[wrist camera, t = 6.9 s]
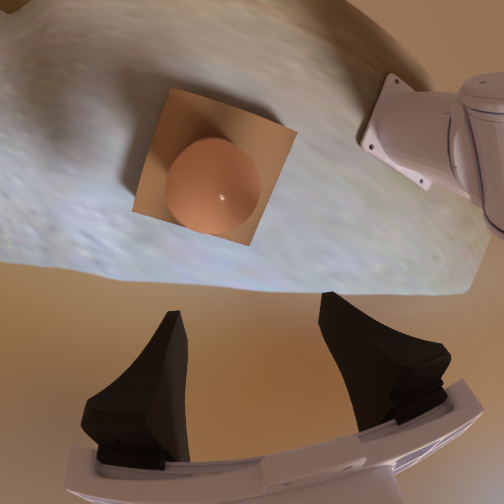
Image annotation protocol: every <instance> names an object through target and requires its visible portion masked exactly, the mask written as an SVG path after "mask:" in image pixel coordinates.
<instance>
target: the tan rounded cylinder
mask: <svg viewBox="0 0 504 504" xmlns="http://www.w3.org/2000/svg"><path fill="white" fill-rule="evenodd" d="M260 191H261V183H260V177H259V173H258V171H257V168H256V166H255V165H254V163H253V161H252V160H251V159H250V158H249V156H247V155H246V154H245V153H244V152H243V151H242V150H241V149H239V148H238V147H237V146H236V145H235V144H234V143H232V142H231V141H229V140H227V139H225V138H222V137H217V136H208V137H203V138H200V139H198V140H196V141H194V142H192V143H191V144H190V145H188V146H187V147H186V148H185V150H184V151H183V152H182V153H181V154H180V155H179V156H178V158H177V159H176V160H175V161H174V162H173V164H172V166H171V167H170V169H169V172H168V174H167V177H166V182H165V196H166V201H167V204H168V206H169V209H170V210H171V212H172V214H173V215H174V216H175V218H176V219H177V220H178V221H179V222H180V223H181V224H183V225H184V226H185V227H187V228H189V229H191V230H193V231H196V232H199V233H204V234H220V233H225V232H228V231H231V230H233V229H235V228H237V227H238V226H240V225H241V224H243V223H244V222H245V221H246V220H247V219H248V218H249V217H250V216H251V214H252V213H253V212H254V210H255V208H256V206H257V204H258V201H259V197H260Z"/></svg>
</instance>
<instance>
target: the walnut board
mask: <svg viewBox="0 0 504 504" xmlns="http://www.w3.org/2000/svg"><path fill="white" fill-rule="evenodd" d="M297 133H298V132H296V131H293V130H291V129H289V128H287V127H284V126H282V125H280V124H277V123H275V122H273V121H270V120H268V119H265V118H263V117H260V116H258V115H255V114H252V113H250V112H247V111H245V110H242V109H239V108H236V107H233V106H231V105H228V104H225V103H222V102H219V101H216V100H213V99H210V98H207V97H203V96H200V95H197V94H193V93H190V92H186V91H183V90H179V89H176V88H172V87H171V88H170V91H169V93H168V96H167V98H166V101H165V104H164V106H163V109H162V112H161V114H160V117H159V120H158V123H157V126H156V129H155V131H154V134H153V137H152V140H151V144H150V147H149V150H148V153H147V156H146V160H145V163H144V167H143V170H142V174H141V177H140V181H139V185H138V189H137V193H136V197H135V201H134V205H133V209H132V212H136V213H139V214H142V215H146V216H149V217H153V218H156V219H159V220H163V221H166V222H170V223H173V224H176V225H180V226H183V227H185V226H184V225H183V224H181V223H180V222H179V221H178V220H177V219H176V218H175V216H174V215H173V214H172V212H171V210H170V209H169V206H168V204H167V201H166V196H165V182H166V177H167V174H168V172H169V169H170V167H171V166H172V164H173V162H174V161H175V160H176V159H177V158H178V156H179V155H180V154H181V153H182V152H183V151H184V150H185V148H186V147H187V146H188V145H190V144H191V143H192V142H194V141H196V140H198V139H200V138H203V137H208V136H217V137H222V138H225V139H227V140H229V141H231V142H232V143H234V144H235V145H236V146H237V147H238V148H239V149H241V150H242V151H243V152H244V153H245V154H246V155H247V156H249V158H250V159H251V160H252V161H253V163H254V165H255V166H256V168H257V171H258V173H259V177H260V183H261V191H260V197H259V201H258V204H257V206H256V208H255V210H254V212H253V213H252V214H251V216H250V217H249V218H248V219H247V220H246V221H245V222H244V223H243V224H241V225H240V226H238V227H237V228H235V229H233V230H231V231H228V232H225V233H220V234H210V235H213V236H217V237H220V238H223V239H227V240H230V241H233V242H237V243H240V244H243V245H247V246H249V245H250V243H251V241H252V238H253V236H254V234H255V231H256V229H257V227H258V224H259V222H260V219H261V217H262V215H263V212H264V210H265V208H266V205H267V203H268V201H269V198H270V196H271V193H272V191H273V189H274V186H275V184H276V182H277V179H278V177H279V175H280V172H281V170H282V168H283V165H284V163H285V161H286V158H287V156H288V154H289V151H290V149H291V147H292V144H293V142H294V140H295V137H296V135H297ZM186 228H187V227H186Z"/></svg>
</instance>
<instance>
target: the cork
mask: <svg viewBox="0 0 504 504" xmlns="http://www.w3.org/2000/svg"><path fill="white" fill-rule="evenodd" d="M29 1H30V0H0V9H1V10H3V11H4V12H6V13H13V12H15V11H17V10H19V9H20V8H22V7H23V6H24V5H26V4H27V3H28V2H29Z"/></svg>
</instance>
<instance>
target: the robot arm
mask: <svg viewBox="0 0 504 504" xmlns="http://www.w3.org/2000/svg"><path fill="white" fill-rule="evenodd" d="M395 80H396V81H397V84H396V83H395ZM370 144H371V146H372V148H371V149H369V145H370ZM360 146H361V148H362V149H363V150H365V151H367V152H369V153H370V154H372V155H373V156H375V157H377V158H378V159H380V160H381V161H383V162H385V163H386V164H388V165H389V166H391V167H392V168H394V169H395V170H397V171H398V172H400V173H401V174H403V175H404V176H406V177H407V178H409V179H410V180H411V181H413V182H414V183H416V184H417V185H418V186H420V187H421V188H422V189H424V190H428V189H429V188H430V185H431V183H434V184H436V185H439V186H441V187H443V188H445V189H448V190H450V191H452V192H454V193H457V194H459V195H461V196H463V197H465V198H467V199H470V200H471V203H472V204H474V205H476V206H478V207H480V208H481V209H483V216H484V220H485V223H486V225H487V227H488V228H489V230H490V231H491V232H492V233H493V234H494V235H495V236H496V237H498V238H499V239H501V240H502V241H504V72H490V73H484V74H479V75H475V76H473V77H470V78H468V79H466V80H465V81H464V83H463V85H462V87H461V88H460V89H459V93H455V92H416V91H415V90H413V89H412V88H411V87H410V86H409V85H407V84H406V83H405V82H404V81H402V80H401V79H400V78H399V77H397V76H396V75H395V74H393V73H390V74H388V75H387V77H386V79H385V82H384V85H383V87H382V90H381V93H380V95H379V98H378V100H377V103H376V105H375V108H374V110H373V113H372V115H371V118H370V120H369V123H368V125H367V128H366V130H365V132H364V135H363V137H362V139H361V142H360ZM420 179H421V182H420ZM318 324H319V327H320V329H321V332H322V335H323V338H324V340H325V342H326V344H327V346H328V348H329V350H330V352H331V354H332V356H333V358H334V360H335V362H336V364H337V366H338V368H339V370H340V372H341V374H342V376H343V379H344V382H345V384H346V387H347V390H348V393H349V396H350V399H351V403H352V406H353V410H354V413H355V417H356V421H357V425H358V429H359V433H357V434H353V435H348V436H343V437H339V438H336V439H332V440H328V441H325V442H321V443H317V444H313V445H309V446H306V447H301V448H297V449H291V450H286V451H282V452H278V453H274V454H271V455H267V456H261V457H254V458H245V459H236V460H226V461H210V462H190V456H189V448H188V440H187V430H186V416H185V386H186V375H187V363H188V340H187V336H186V332H185V329H184V325H183V321H182V317H181V314H180V311H168V312H167V313H166V315H165V317H164V319H163V320H162V322H161V324H160V325H159V327H158V329H157V330H156V332H155V334H154V335H153V337H152V338H151V340H150V341H149V343H148V344H147V346H146V347H145V348H144V350H143V351H142V353H141V354H140V355H139V356H138V358H137V359H136V360H135V361H134V362H133V364H132V365H131V366H130V367H129V368H128V369H127V370H126V371H125V372H124V373H123V374H122V375H121V376H120V377H119V378H117V379H116V380H115V381H114V382H113V383H111V384H110V385H109V386H108V387H106V388H105V389H104V390H102V391H101V392H99V393H98V394H96V395H95V396H93V397H91V398H90V399H88V400H87V403H86V406H85V409H84V413H83V417H82V421H81V427H82V429H83V430H84V432H85V433H86V434H87V435H88V436H89V437H90V438H91V439H93V440H94V441H95V442H96V443H97V444H98V445H99V446H98V451H97V450H95V449H93V448H89V447H83V446H78V445H74V444H72V445H71V446H70V452H69V456H68V462H67V468H66V475H65V481H64V489H65V490H67V491H69V492H71V493H73V494H75V495H77V496H79V497H81V498H84V499H85V500H88V501H90V502H92V503H95V504H406V502H405V499H404V497H403V495H402V492H401V490H400V487H399V485H398V483H397V480H396V478H395V476H394V475H395V474H397V473H399V472H401V471H403V470H405V469H406V468H408V467H410V466H412V465H414V464H415V463H417V462H419V461H421V460H422V459H424V458H425V457H427V456H428V455H430V454H432V453H433V452H435V451H436V450H438V449H440V448H441V447H443V446H444V445H446V444H447V443H449V442H450V441H452V440H453V439H455V438H456V437H457V436H459V435H460V434H462V433H463V432H464V431H465V430H466V429H467V428H468V427H469V426H470V425H471V424H472V423H473V422H474V421H475V420H476V419H477V418H478V417H479V416H480V415H481V414H482V413H483V412H484V408H483V407H482V405H481V404H480V402H479V401H478V399H477V398H476V396H475V395H474V394H473V392H472V391H471V390H470V388H469V387H468V385H467V384H466V382H465V381H464V380H463V379H460V380H458V381H457V382H455V383H453V384H451V385H450V386H449V387H447V388H446V389H445V390H444V389H443V388H442V385H443V381H442V380H441V377H442V375H443V374H444V372H445V370H446V369H447V367H448V366H449V364H450V361H451V354H450V353H449V352H448V351H447V349H446V348H445V347H444V346H443V344H440V343H436V342H430V341H425V340H422V339H418V338H415V337H412V336H409V335H406V334H403V333H401V332H398V331H396V330H394V329H391V328H389V327H387V326H385V325H383V324H381V323H380V322H378V321H376V320H374V319H373V318H371V317H369V316H368V315H366V314H365V313H363V312H362V311H360V310H359V309H357V308H356V307H354V306H353V305H351V304H350V303H349V302H347V301H346V300H344V299H343V298H342V297H340V296H339V295H338V294H336V293H335V292H333V291H332V292H326V293H322V297H321V306H320V313H319V321H318Z"/></svg>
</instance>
